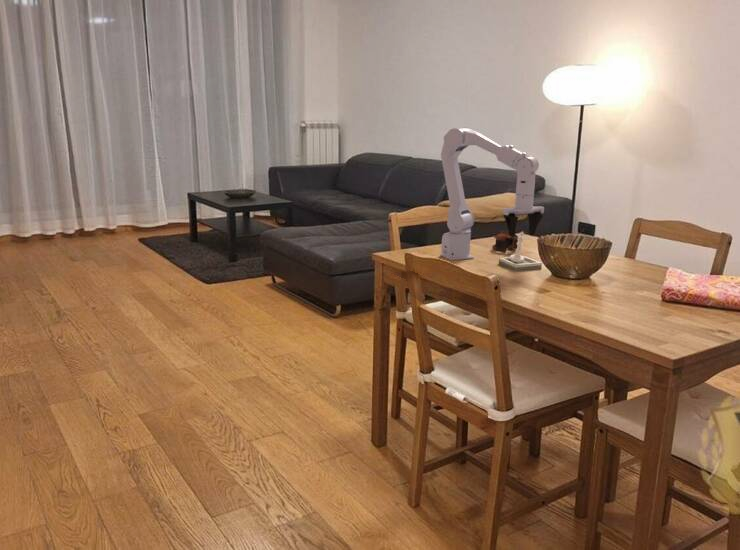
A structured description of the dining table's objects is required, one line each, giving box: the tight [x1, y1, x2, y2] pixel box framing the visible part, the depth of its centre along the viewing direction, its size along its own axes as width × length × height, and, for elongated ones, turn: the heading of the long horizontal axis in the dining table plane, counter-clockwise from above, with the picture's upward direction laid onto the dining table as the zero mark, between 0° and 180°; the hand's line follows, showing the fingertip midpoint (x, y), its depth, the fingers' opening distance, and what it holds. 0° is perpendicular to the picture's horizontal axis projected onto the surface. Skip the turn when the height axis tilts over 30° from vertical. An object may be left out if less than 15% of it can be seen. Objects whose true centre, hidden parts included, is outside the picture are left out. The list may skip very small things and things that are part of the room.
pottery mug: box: [491, 230, 519, 254], centre depth 239 cm, size 12×10×8 cm
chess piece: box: [509, 231, 526, 263], centre depth 217 cm, size 5×5×10 cm
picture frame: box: [498, 255, 543, 272], centre depth 218 cm, size 10×10×2 cm
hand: (521, 235), depth 215 cm, fingers open, 7 cm apart
